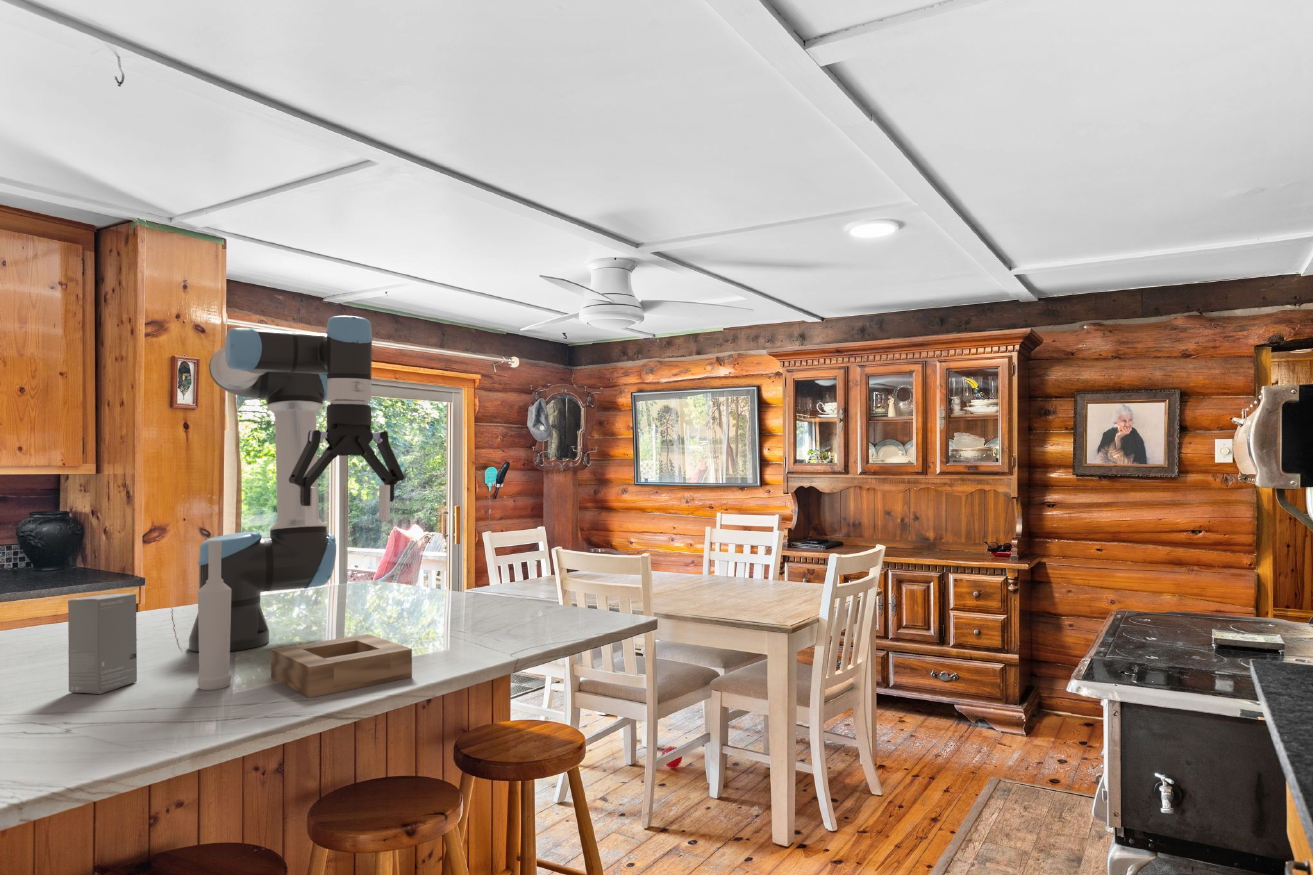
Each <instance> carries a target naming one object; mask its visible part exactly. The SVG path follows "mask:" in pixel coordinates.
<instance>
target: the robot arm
mask: <svg viewBox="0 0 1313 875" xmlns="http://www.w3.org/2000/svg"><path fill="white" fill-rule="evenodd" d="M326 325H327V326H326V331H325V333H317V332H301V331H285V330H284V331H283V330H271V329H260V328H254V327H232V328H230V329H229V330H227V333H226V336H225V342H224V343H225V344H224V346H223V347H221V348H219V349H217V351H215V353H214V354H212V356H211V358H210V360H209V364H208V372H209V375H210V378H211V380H212V381H213V382H214V384H216V385H217V387H218V388H220V389H221V390H224V391H226V392H228V393H230V394H232V395H235V396H238V397H242V398H246V399H247V398H248V399H265V400H266V406H267V410H269V411H270V412H272V413H273V414H274V426H275V428H274V430H275V470H276V471H275V474H276V510H277V511H276V513H277V516H276V518H277V519H276V520H277V521H276V522H275V523H274V524H273V525H272V526H271V527H270V529H269V534H270V535H269V536H268V537H262V534H261V532H260V531H258V530H257V531H256V530H253V531H244V532H242V531H241V532H235V533H230V534H224V535H219V536H215V537H210V538H208V539H206V540H204V541H203V542H202V543H201V544H200V546H199V554H198V561H197V566H198V567H199V568H198V590H199V589H201V588H202V587H203V586H204V585H205V584H206V581H207V580H208V566H209V552H208V541H211V540H222V551H221V579H223V582H224V583H225V584H226V585H227V586H229V587H230V588H231V626H230V652H235V651H242V650H247V649H253V648H257V647H261V646H263V645H266V644H268V643H269V642H270V629H269V626H268V623H267V620H266V618H265V615H264V612H263V609H262V607H261V593H263V592H275V591H277V592H278V591H285V590H287V591H289V590H299V589H310V588H314V587H315V588H316V587H322V586H325V585H326V584H327V583H329V581H330V580H331V578H332V575H333V573H334V568H335V565H336V557H337V543H336V541H337V540H336V536H335V534H333V533H330V532H328V530H327V528H328V526H327V524H326V523H325V522H323V521H322V520H321V518H320V500H319V498H320V496H319V477H320V476H321V475H322V474H323V472H324V471H325V470H326V469H327V468H328V466H329V465H330V464H331V463H332V461H333V460H334V459H335V458H337V457H338V456H341V457H343V456H344V457H345V456H346V457H348V456H353V457H354V456H357V457H361V458H362V459H363V460H365V462H366V463H367V464H368V466H369V467H370V468H371V469H372V470H373V471H374V473H375V474H376V476H378V477H379V479H380V480H381V481H382V483H383V484H378V486H379V487H378V490H379V491H378V521H386V522H387V521H389V522H390V521H391V519H390V518H391V502H394V500H395V485H397V484H398V482H400V481H404V480H405V475H404V473H403V470H402V469H401V466H400V464H399V462H398V459H397V458H396V455H395V453H394V451H393V449H392V447H391V445H390V440H389V433H388V432H387V431H386V430H378V431H376V432H373V431H372V428H371V426H372V406H371V405H370V404H369V403H371V402H372V367H373V366H372V360H373V359H372V357H373V356H372V355H373V353H372V352H373V350H372V348H373V344H372V343H373V341H374V340H373V339H374V338H373V333H372V332H373V331H372V323H371V321H370V320H369V319H367V318H365V317H360V316H353V315H337V316H331V317H330V318H329V319H328V320H327V324H326ZM325 401H327V402H330V403H329V404H328V405H327V406H326V430H325V431H320V430H319V429H317V415H318V413H319V412H320V410H322V409H323V407H324V402H325ZM368 404H369V405H368ZM324 440H325V442H326V443H327V444H328V446H327V447H326V448H325V449H324V451H323V452H322V454H321V456H319V458H318V449H319V447H320V444H321V443H323V442H324ZM372 441H373V442H374V443H375V444H376V446H377V448H378V450H379V451H378V452H380V455H381V457H382V459H383V461H384V463H385V465H386V466H385V465H384V463H383V462H382V461H381V459H379V457H377V455H376V453H375V450H374V449H373V448H372V447H371V445H370V444H371V442H372ZM188 637H189V638H188V649H189V651H192V652H198V653H199V629H198V613H197V614H196V617H195V620H194V623H193V626H192V629H191V631H190V634H189V636H188Z"/></svg>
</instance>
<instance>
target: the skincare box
mask: <svg viewBox="0 0 1313 875" xmlns="http://www.w3.org/2000/svg"><path fill="white" fill-rule="evenodd" d="M67 609H68V610H67V611H68V612H67V614H68V615H67V616H68V621H67V622H68V623H67V624H68V626H67V627H68V634H67V636H68V693H76V694H77V693H78V694H79V693H83V694H84V693H85V694H96V695H100V694H104V693H108V692H111V691H113V690H117V689H119V688H122V687H125V686H127V685H131V684H134V683H137V681H138V668H137V667H138V666H137V664H138V662H137V661H138V659H137V657H138V655H137V654H138V653H137V650H138V649H137V648H138V647H137V640H138V639H137V593H113V594H112V593H108V594H107V593H106V594H100V595H94V596H93V595H91V596H85V597H77V598H72V599H69V600H67Z"/></svg>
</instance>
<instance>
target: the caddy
mask: <svg viewBox="0 0 1313 875" xmlns="http://www.w3.org/2000/svg"><path fill="white" fill-rule="evenodd" d="M412 677H413V648H410V647H409V646H404V645H402V644H399V643H395V642H393V641H389V640H388V639H383V638H381V637H379V636H375V635H372V634H369V633H366V634H365V633H364V634H360V635H353V636H347V637H340V638H335V639H327V640H321V641H315V642H309V643H303V644H297V645H290V646H289V645H288V646H283V647H278V648H271V649H270V678H272V679H273V680H275V681H277V682H279V683H281V684H282V685H284V686H286V687H288V688H289V689H293V690H294V691H296V692H297V693H300V694H301V695H303V696H306V697H307V698H309V699H310V698H315V697H320V696H325V695H329V694H334V693H340V692H344V691H350V690H355V689H360V688H365V687H370V686H375V685H379V684H385V683H389V682H395V681H399V680H406V679H409V678H412Z"/></svg>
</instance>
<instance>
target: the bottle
mask: <svg viewBox="0 0 1313 875" xmlns="http://www.w3.org/2000/svg"><path fill="white" fill-rule="evenodd" d="M221 551H222V540H211V541H208V552H209V566H208V580H207V581H206V584H205V585H204V586H203V587H202V588H201V589H199V588H198V590H197V614H198V629H199V652H198V665H199V668H198V676H197V685H198V689H199V690H202V691H210V690H212V691H213V690H219V689H224V688H226V687H227V688H228V687H229V686H230V684H231V681H232V674H231V672H230V663H231V662H230V661H231V659H230V657H231V655H230V654H231V651H230V626H231V588H230V587H229V586H227V585H226V584H225V583H224V582H223V579H221Z"/></svg>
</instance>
